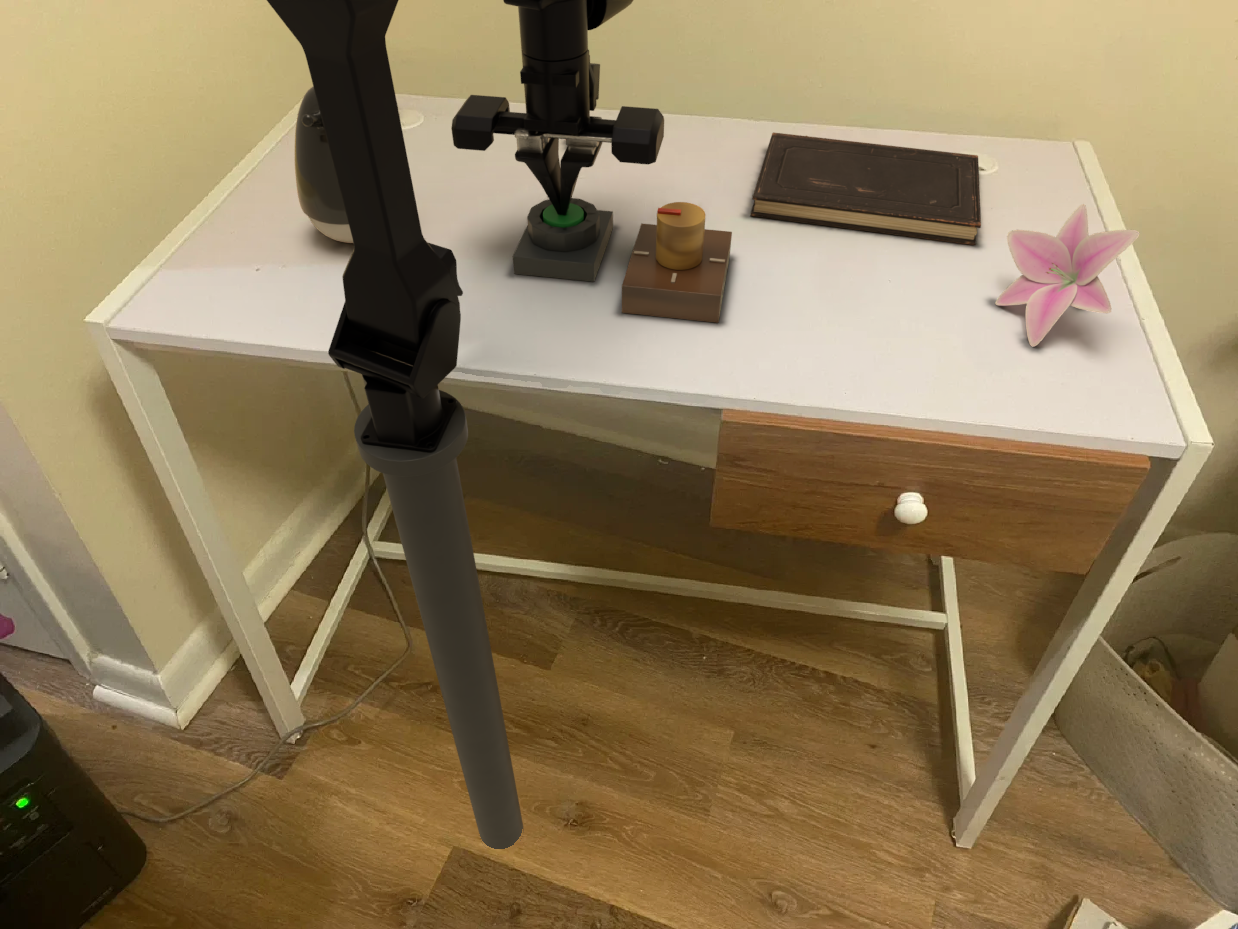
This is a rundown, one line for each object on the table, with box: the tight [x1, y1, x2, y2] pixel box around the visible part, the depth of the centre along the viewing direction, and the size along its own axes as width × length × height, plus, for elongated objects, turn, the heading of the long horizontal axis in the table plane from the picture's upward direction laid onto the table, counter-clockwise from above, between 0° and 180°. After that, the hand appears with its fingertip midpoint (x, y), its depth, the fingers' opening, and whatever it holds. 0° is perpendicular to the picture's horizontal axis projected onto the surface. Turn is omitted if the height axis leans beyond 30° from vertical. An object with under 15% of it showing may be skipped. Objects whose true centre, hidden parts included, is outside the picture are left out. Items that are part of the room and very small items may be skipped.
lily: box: [994, 203, 1140, 348], centre depth 81 cm, size 12×12×10 cm
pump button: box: [543, 203, 584, 228], centre depth 89 cm, size 4×4×2 cm
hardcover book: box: [749, 131, 982, 246], centre depth 99 cm, size 16×23×2 cm
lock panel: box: [621, 222, 733, 324], centre depth 86 cm, size 11×9×3 cm
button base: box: [512, 197, 614, 283], centre depth 90 cm, size 10×8×4 cm
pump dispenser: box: [294, 86, 354, 244], centre depth 89 cm, size 10×10×15 cm
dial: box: [656, 201, 706, 270], centre depth 84 cm, size 4×4×5 cm
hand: (563, 212), depth 89 cm, fingers closed, pressing on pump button
